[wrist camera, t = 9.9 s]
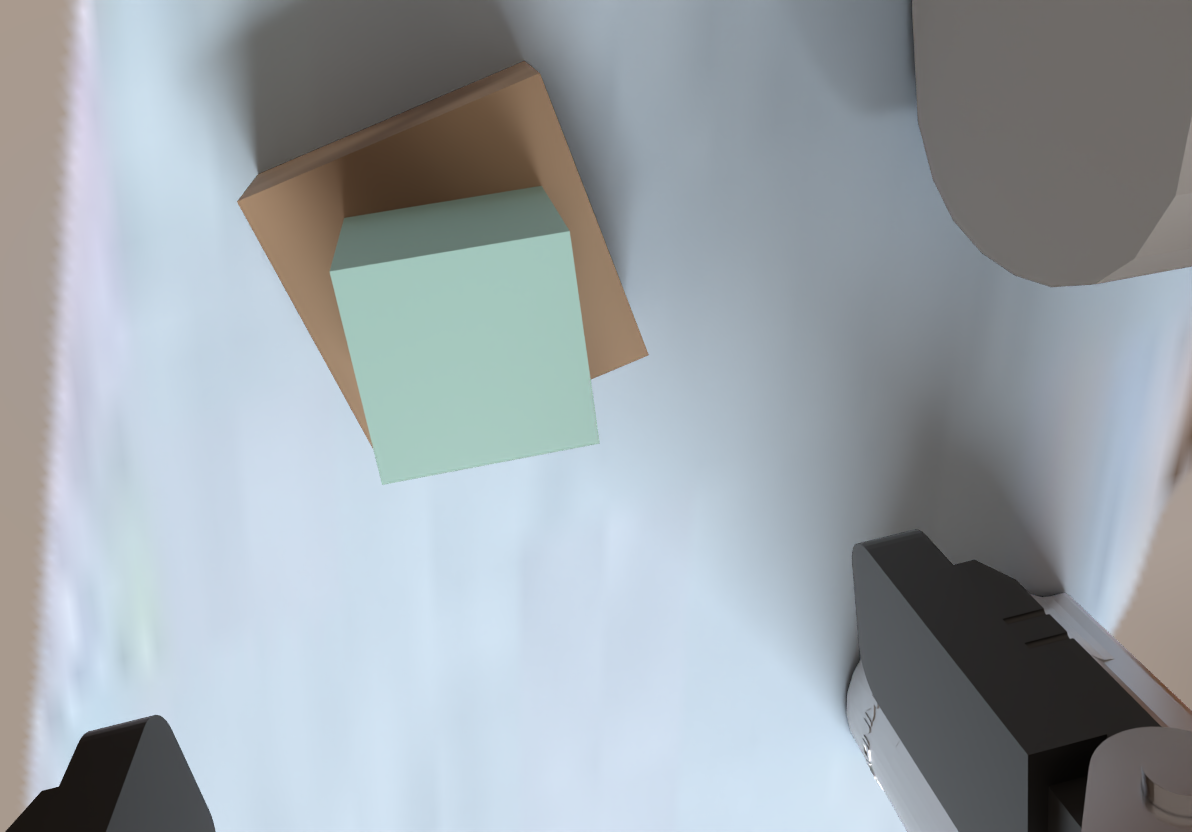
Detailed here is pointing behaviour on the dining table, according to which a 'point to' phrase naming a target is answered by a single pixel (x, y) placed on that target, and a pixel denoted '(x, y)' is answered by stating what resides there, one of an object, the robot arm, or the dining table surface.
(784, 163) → the dining table surface
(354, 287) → the teal cube
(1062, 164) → the alarm clock
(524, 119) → the walnut block
